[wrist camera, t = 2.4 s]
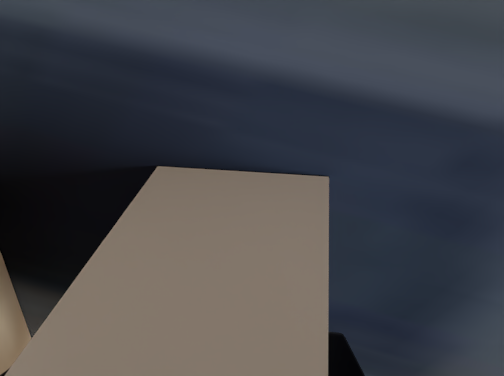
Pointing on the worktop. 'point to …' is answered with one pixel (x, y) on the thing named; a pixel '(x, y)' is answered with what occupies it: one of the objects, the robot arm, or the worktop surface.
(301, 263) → the plug
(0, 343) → the socket block
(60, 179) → the worktop surface
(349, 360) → the robot arm
